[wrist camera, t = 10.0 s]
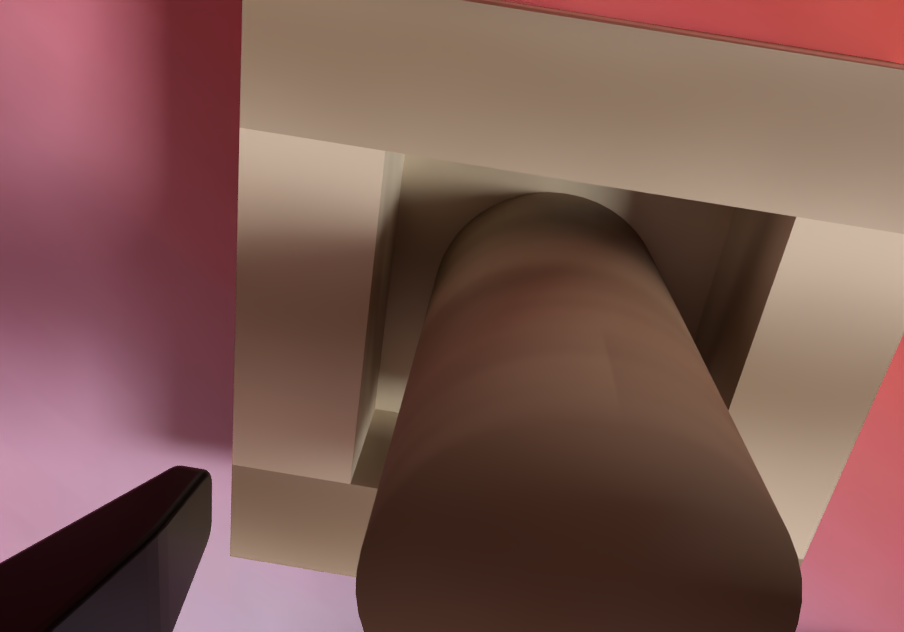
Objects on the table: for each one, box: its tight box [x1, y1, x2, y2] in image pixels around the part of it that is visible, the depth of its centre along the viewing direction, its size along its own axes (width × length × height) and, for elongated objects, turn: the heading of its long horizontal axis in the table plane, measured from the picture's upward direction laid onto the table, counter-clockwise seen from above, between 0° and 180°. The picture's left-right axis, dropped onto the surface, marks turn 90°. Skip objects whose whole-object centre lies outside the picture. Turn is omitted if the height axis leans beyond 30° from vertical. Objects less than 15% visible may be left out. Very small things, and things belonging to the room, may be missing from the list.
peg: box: [356, 192, 802, 632], centre depth 13 cm, size 5×5×9 cm
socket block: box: [230, 0, 904, 577], centre depth 16 cm, size 12×12×4 cm
